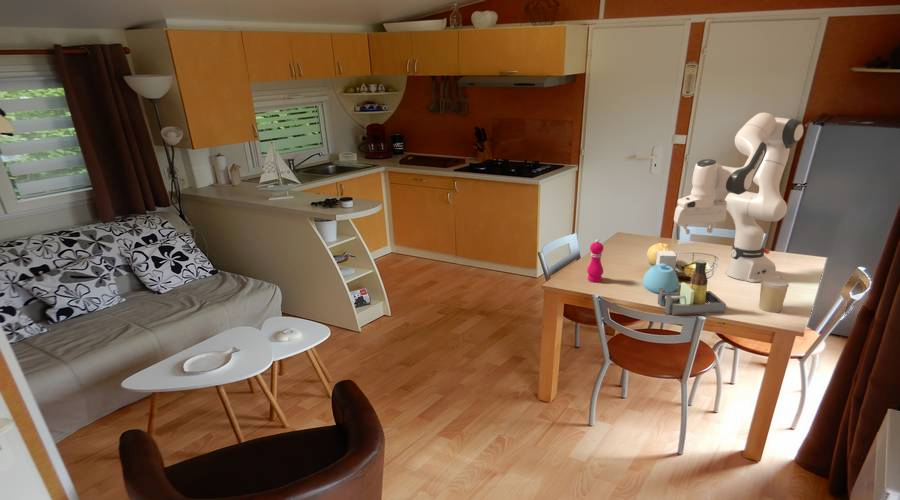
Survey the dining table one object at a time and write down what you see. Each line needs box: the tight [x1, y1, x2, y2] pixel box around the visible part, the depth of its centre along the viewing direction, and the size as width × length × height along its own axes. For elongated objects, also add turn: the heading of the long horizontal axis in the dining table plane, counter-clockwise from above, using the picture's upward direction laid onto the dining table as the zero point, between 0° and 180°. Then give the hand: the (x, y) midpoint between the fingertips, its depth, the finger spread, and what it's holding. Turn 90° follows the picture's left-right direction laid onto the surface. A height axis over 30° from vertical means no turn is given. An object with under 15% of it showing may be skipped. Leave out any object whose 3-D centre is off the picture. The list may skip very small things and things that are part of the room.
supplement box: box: [656, 250, 677, 272], centre depth 239 cm, size 7×7×13 cm
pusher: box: [665, 281, 695, 305], centre depth 211 cm, size 9×9×9 cm
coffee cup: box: [758, 277, 790, 314], centre depth 207 cm, size 9×9×12 cm
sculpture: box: [646, 242, 673, 266], centre depth 256 cm, size 11×12×11 cm
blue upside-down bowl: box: [642, 263, 680, 294], centre depth 229 cm, size 15×15×12 cm
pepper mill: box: [586, 239, 605, 283], centre depth 239 cm, size 7×7×20 cm
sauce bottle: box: [689, 259, 708, 304], centre depth 209 cm, size 6×6×20 cm
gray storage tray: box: [657, 288, 727, 316], centre depth 211 cm, size 22×12×7 cm, turn 91°
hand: (698, 232), depth 212 cm, fingers open, 8 cm apart
